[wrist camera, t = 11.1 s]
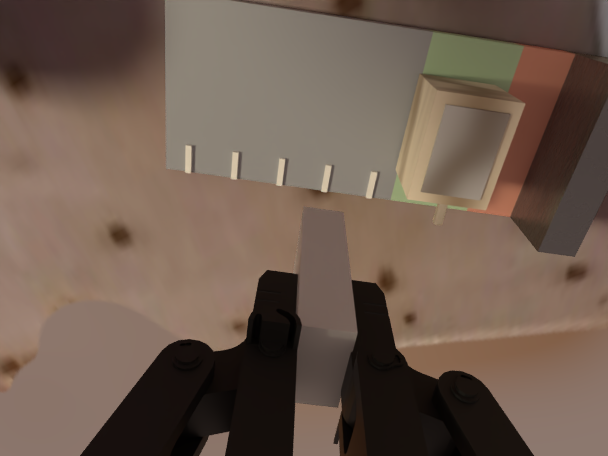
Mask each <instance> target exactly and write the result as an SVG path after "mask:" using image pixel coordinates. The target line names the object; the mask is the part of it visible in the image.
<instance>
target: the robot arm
mask: <svg viewBox="0 0 608 456" xmlns="http://www.w3.org/2000/svg"><path fill="white" fill-rule="evenodd" d="M340 398H341V402H342V411H341V415H340V419H339V423H338V426H337V431H336V434H335V438H334V444H338V440H339V445H340V446H339V447H340V456H534V455H533V454H532V452H531V451H530V449H529V448H528V446H527V445H526V443H525V442H524V441H523V439H522V438H521V436H520V435H519V433H518V432H517V431H516V429H515V427H514V426H513V424H512V423H511V422H510V420H509V419H508V417H507V416H506V414H505V413H504V411H503V410H502V408H501V407H500V406H499V404H498V403H497V401H496V400H495V398H494V397H493V395H492V394H491V392H490V391H489V390H488V388H487V387H486V386H485V385H484V384H483V383H482V382H481V381H480V380H478V379H477V378H475V377H474V376H472V375H470V374H467V373H465V372H462V371H448V372H445V373H443V374H442V375H441V376H440V377H439V379H435V378H433V377H430V376H427V375H425V374H422V373H420V372H418V371H416V370H414V369H412V368H411V367H409V366H408V364H407V362H406V360H405V357H404V356H403V355H402V354H401V353H400V352H399V351H398V350H397V349H396V347H395V342H394V337H393V333H392V328H391V323H390V319H389V316H388V309H387V307H386V300H385V295H384V293H383V292H382V291H381V289H380V288H379V287H378V285H377V284H376V283H370V282H362V281H354V280H351V272H350V264H349V255H348V247H347V238H346V230H345V221H344V213H343V212H339V211H332V210H325V209H317V208H310V207H303V213H302V220H301V226H300V232H299V238H298V245H297V251H296V257H295V263H294V272H293V273H285V272H278V271H270V270H267V271H266V272H265V273H264V274H263V275H262V276H261V277H260V278H259V282H258V287H257V292H256V298H255V303H254V309H253V312H252V313H251V315H250V317H249V319H248V328H247V337H246V339H245V340H244V342H242V343H241V344H240V345H238V346H236V347H234V348H231V349H227V350H222V351H215V352H213V350H212V349H211V348H210V347H209V346H208V345H207V344H205V343H203V342H201V341H198V340H191V339H187V340H179V341H176V342H174V343H172V344H169V345H168V346H167V347H166V348H164V349H163V350H162V351H161V353H160V354H159V355H158V356H157V358H156V359H155V360H154V362H153V363H152V364H151V365H150V367H149V368H148V369H147V370H146V372H145V373H144V374H143V376H142V377H141V378H140V379H139V381H138V382H137V383H136V385H135V386H134V387H133V388H132V390H131V391H130V392H129V394H128V395H127V396H126V397H125V399H124V400H123V401H122V403H121V404H120V405H119V406H118V408H117V409H116V410H115V411H114V413H113V414H112V415H111V417H110V418H109V419H108V420H107V422H106V423H105V424H104V426H103V427H102V428H101V430H100V431H99V432H98V433H97V435H96V436H95V437H94V438H93V440H92V441H91V442H90V444H89V445H88V446H87V447H86V449H85V450H84V451H83V453H82V454H81V455H80V456H199V455H200V453H201V451H202V449H203V447H204V445H205V443H206V442H207V440H208V437H209V435H214V434H218V433H223V432H229V431H230V432H229V437H228V443H227V448H226V453H225V456H293V439H294V416H295V403H303V404H311V405H320V406H328V407H338V405H339V402H340Z"/></svg>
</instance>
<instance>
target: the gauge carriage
mask: <svg viewBox="0 0 608 456" xmlns="http://www.w3.org/2000/svg"><path fill="white" fill-rule="evenodd" d="M525 104H526V103H524V102H522V101H521V100H519V99H517V98H516V97H514V96H512V95H511V94H509V93H508V92H506V91H504V90H503V89H501V88H499V87H498V86H496V85H492V84H486V83H479V82H473V81H466V80H459V79H453V78H446V77H440V76H433V75H426V74H419V78H418V82H417V86H416V90H415V94H414V98H413V102H412V106H411V110H410V114H409V118H408V122H407V126H406V130H405V134H404V138H403V142H402V146H401V150H400V153H399V157H398V161H397V165H396V169H395V170H396V172H397V175H398V177H399V180H400V182H401V185H402V187H403V190H404V193H405V195H406V198H407V199H408V200H415V201H422V202H430V203H437V208H436V211H435V214H434V217H433V220H432V221H433V224H434V225H440V226H442V223H443V220H444V217H445V214H446V210H447V207H448V205H451V206H458V207H465V208H472V209H479V210H486V209H487V207H488V204H489V201H490V198H491V196H492V193H493V190H494V188H495V185H496V182H497V180H498V177H499V174H500V171H501V169H502V166H503V163H504V161H505V158H506V155H507V153H508V150H509V147H510V144H511V142H512V139H513V136H514V134H515V131H516V128H517V126H518V123H519V120H520V117H521V115H522V112H523V109H524V107H525Z"/></svg>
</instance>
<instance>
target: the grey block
mask: <svg viewBox="0 0 608 456" xmlns="http://www.w3.org/2000/svg"><path fill="white" fill-rule="evenodd" d="M567 52H570V51H567ZM570 53H573V54H575V57H574V59H573V62H572V64H571V67H570V69H569V71H568V74H567V76H566V79H565V81H564V84H563V86H562V89H561V91H560V94H559V96H558V99H557V101H556V104H555V106H554V109H553V111H552V114H551V116H550V119H549V121H548V124H547V126H546V129H545V131H544V134H543V136H542V139H541V141H540V144H539V146H538V149H537V151H536V154H535V156H534V159H533V161H532V164H531V166H530V169H529V171H528V174H527V176H526V179H525V181H524V184H523V186H522V189H521V191H520V193H519V196H518V198H517V201H516V203H515V206H514V208H513V211H512V213H511V216H510V217H511V219H512V220H513V221H514V222H515V224H516V225H517V226H518V227H519V229H520V230H521V231H522V232H523V234H524V235H525V236H526V237H527V239H528V240H529V241H530V242H531V244H532V245H533V246H534V247H535V249H536V250H537V251H538V252H544V253H551V254H559V255H566V256H573V257H575V255H576V253H577V251H578V249H579V247H580V245H581V243H582V241H583V239H584V237H585V235H586V233H587V231H588V229H589V227H590V225H591V223H592V221H593V219H594V217H595V215H596V213H597V211H598V209H599V207H600V205H601V203H602V201H603V199H604V197H605V195H606V193H607V191H608V57H602V56H595V55H589V54H582V53H576V52H570Z"/></svg>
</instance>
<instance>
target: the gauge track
mask: <svg viewBox="0 0 608 456" xmlns="http://www.w3.org/2000/svg"><path fill="white" fill-rule="evenodd" d="M574 57H575V54H573V53H570V52H567V51H563V50H557V49H550V48H544V47H538V46H531V45H525V44H518V43H512V42H506V41H499V40H493V39H486V38H480V37H473V36H467V35H461V34H454V33H448V32H441V31H435V30H429V29H422V28H416V27H409V26H403V25H396V24H390V23H384V22H377V21H371V20H364V19H358V18H352V17H345V16H339V15H332V14H326V13H320V12H313V11H307V10H300V9H294V8H287V7H281V6H275V5H268V4H262V3H255V2H249V1H243V0H165V90H166V169H173V170H180V171H185V173H191V172H194V173H201V174H208V175H216V176H223V177H230V178H231V179H234V180H237V179H244V180H251V181H258V182H265V183H273V184H276V185H277V186H282V185H287V186H294V187H301V188H308V189H315V190H321V192H327V191H330V192H337V193H344V194H351V195H358V196H365V197H366V198H370V199H372V198H380V199H387V200H394V201H401V202H408V203H415V204H422V205H430V206H437V203H430V202H422V201H415V200H408V199H407V198H406V195H405V193H404V190H403V187H402V185H401V182H400V180H399V177H398V175H397V172H396V170H395V169H396V165H397V161H398V157H399V153H400V150H401V146H402V142H403V138H404V134H405V130H406V126H407V122H408V118H409V114H410V110H411V106H412V102H413V98H414V94H415V90H416V86H417V82H418V78H419V74H426V75H433V76H440V77H446V78H453V79H459V80H466V81H473V82H479V83H486V84H492V85H496V86H498V87H499V88H501V89H503V90H504V91H506V92H508V93H509V94H511V95H512V96H514V97H516V98H517V99H519V100H521V101H522V102H524V103H526V104H525V107H524V109H523V112H522V115H521V117H520V120H519V123H518V126H517V128H516V131H515V134H514V136H513V139H512V142H511V144H510V147H509V150H508V153H507V155H506V158H505V161H504V163H503V166H502V169H501V171H500V174H499V177H498V180H497V182H496V185H495V188H494V190H493V193H492V196H491V198H490V201H489V204H488V207H487V209H486V210H479V209H472V208H465V207H458V206H451V205H448V207H447V208H451V209H458V210H465V211H472V212H479V213H487V214H494V215H501V216H508V217H510V216H511V213H512V211H513V208H514V206H515V203H516V201H517V198H518V196H519V193H520V191H521V189H522V186H523V184H524V181H525V179H526V176H527V174H528V171H529V169H530V166H531V164H532V161H533V159H534V156H535V154H536V151H537V149H538V146H539V144H540V141H541V139H542V136H543V134H544V131H545V129H546V126H547V124H548V121H549V119H550V116H551V114H552V111H553V109H554V106H555V104H556V101H557V99H558V96H559V94H560V91H561V89H562V86H563V84H564V81H565V79H566V76H567V74H568V71H569V69H570V67H571V64H572V62H573V59H574Z"/></svg>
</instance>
